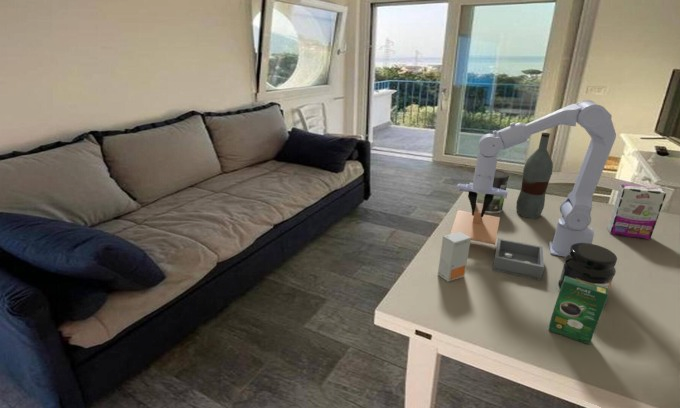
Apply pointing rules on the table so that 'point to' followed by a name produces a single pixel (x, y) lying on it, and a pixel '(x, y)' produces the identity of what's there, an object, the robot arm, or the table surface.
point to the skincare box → (454, 256)
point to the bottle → (535, 181)
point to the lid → (477, 225)
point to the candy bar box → (636, 211)
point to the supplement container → (589, 264)
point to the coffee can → (497, 202)
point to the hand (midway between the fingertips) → (477, 215)
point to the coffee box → (578, 309)
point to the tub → (519, 259)
